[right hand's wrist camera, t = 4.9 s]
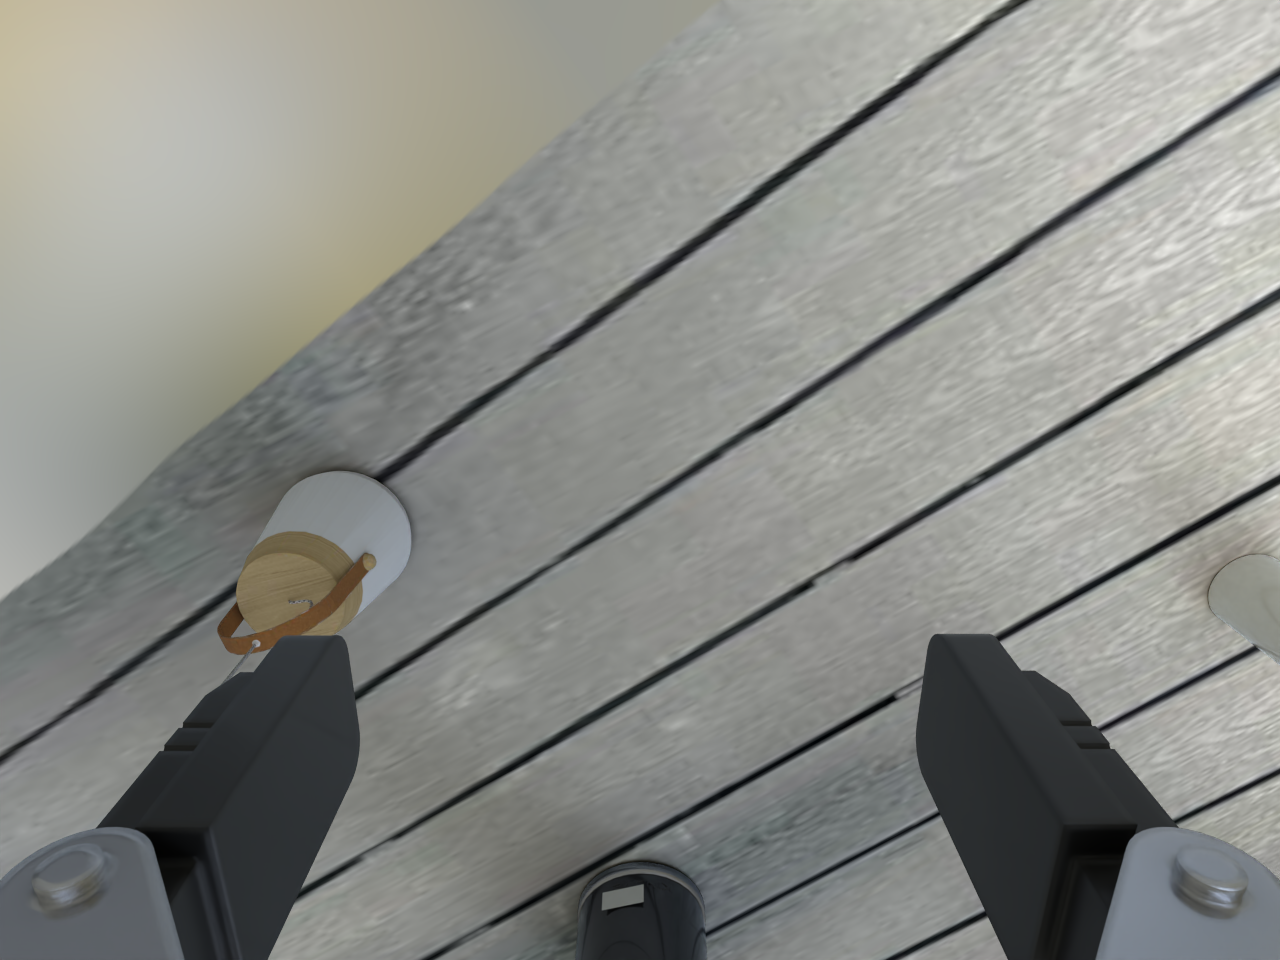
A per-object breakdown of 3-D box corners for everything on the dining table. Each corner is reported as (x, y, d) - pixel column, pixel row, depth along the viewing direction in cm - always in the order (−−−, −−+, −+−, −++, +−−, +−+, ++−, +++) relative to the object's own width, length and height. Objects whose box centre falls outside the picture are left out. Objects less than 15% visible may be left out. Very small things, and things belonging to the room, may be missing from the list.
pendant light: (384, 450, 49) (44, 827, 21) (435, 570, 52) (193, 1043, 24) (258, 487, 50) (-233, 897, 22) (314, 602, 53) (-57, 1098, 25)
